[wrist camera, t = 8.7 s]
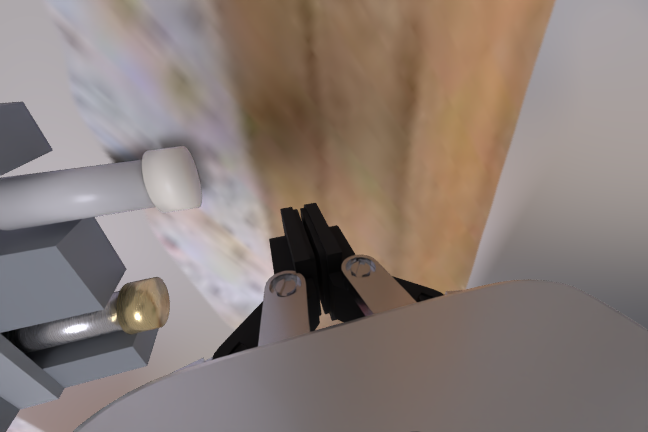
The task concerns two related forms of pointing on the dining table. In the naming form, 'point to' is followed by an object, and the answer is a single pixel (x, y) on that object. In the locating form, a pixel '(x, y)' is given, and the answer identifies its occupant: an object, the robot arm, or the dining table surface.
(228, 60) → the dining table surface
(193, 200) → the light grey capped cylinder
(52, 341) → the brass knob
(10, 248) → the mount
